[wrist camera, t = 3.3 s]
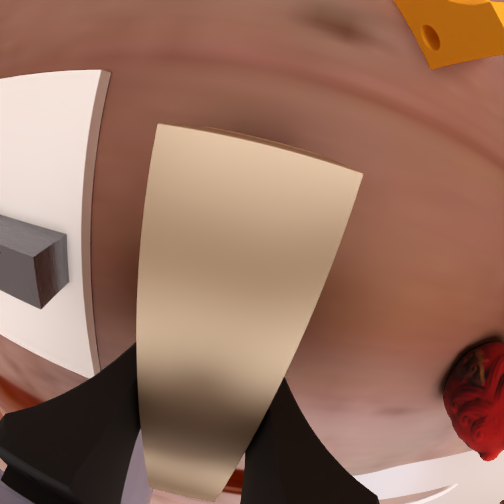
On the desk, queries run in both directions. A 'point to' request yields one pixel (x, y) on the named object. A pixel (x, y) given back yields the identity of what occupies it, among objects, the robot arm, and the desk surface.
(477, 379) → the red clay folk toy
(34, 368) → the desk surface
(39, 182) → the stand
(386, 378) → the desk surface
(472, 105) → the desk surface
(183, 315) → the oak bar
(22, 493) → the robot arm
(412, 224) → the desk surface
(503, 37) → the pipe clamp
